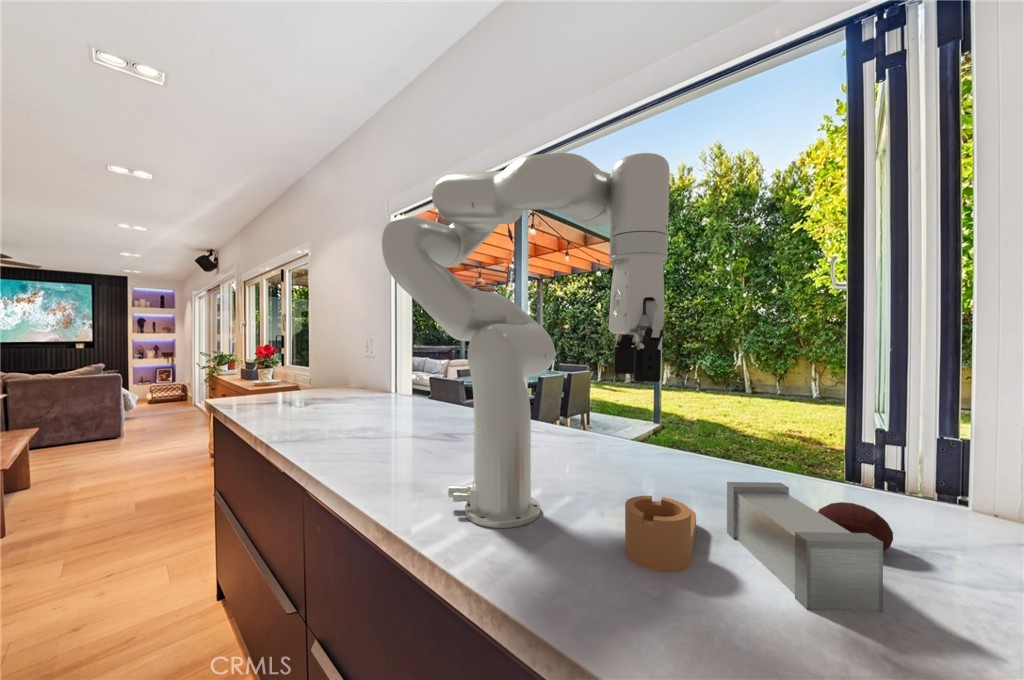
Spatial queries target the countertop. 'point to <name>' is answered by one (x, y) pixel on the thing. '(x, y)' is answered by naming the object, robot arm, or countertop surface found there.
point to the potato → (859, 521)
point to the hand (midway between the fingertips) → (634, 377)
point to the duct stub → (806, 549)
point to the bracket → (659, 533)
